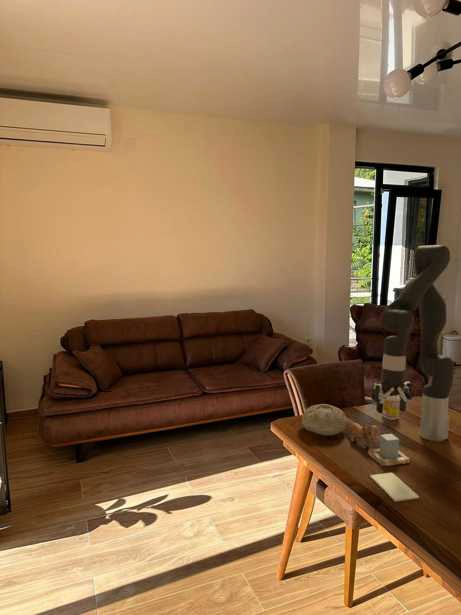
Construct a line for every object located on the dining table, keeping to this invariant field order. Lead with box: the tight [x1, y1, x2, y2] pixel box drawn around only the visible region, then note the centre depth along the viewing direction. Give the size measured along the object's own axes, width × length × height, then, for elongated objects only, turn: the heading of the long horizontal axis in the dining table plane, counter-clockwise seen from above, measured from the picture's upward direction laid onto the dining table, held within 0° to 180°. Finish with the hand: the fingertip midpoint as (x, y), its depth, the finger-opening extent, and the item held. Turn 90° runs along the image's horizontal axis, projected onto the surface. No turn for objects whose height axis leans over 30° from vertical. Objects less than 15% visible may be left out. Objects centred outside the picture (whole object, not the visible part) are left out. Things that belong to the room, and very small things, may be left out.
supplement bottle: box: [382, 396, 401, 421], centre depth 189 cm, size 7×7×13 cm
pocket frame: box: [367, 448, 410, 467], centre depth 153 cm, size 10×9×2 cm
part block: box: [379, 433, 400, 459], centre depth 153 cm, size 4×4×8 cm
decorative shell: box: [301, 403, 348, 437], centre depth 175 cm, size 18×18×10 cm
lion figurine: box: [345, 422, 381, 449], centre depth 164 cm, size 15×5×9 cm, turn 34°
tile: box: [369, 472, 420, 503], centre depth 135 cm, size 8×14×1 cm, turn 12°
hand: (390, 411), depth 151 cm, fingers open, 8 cm apart
